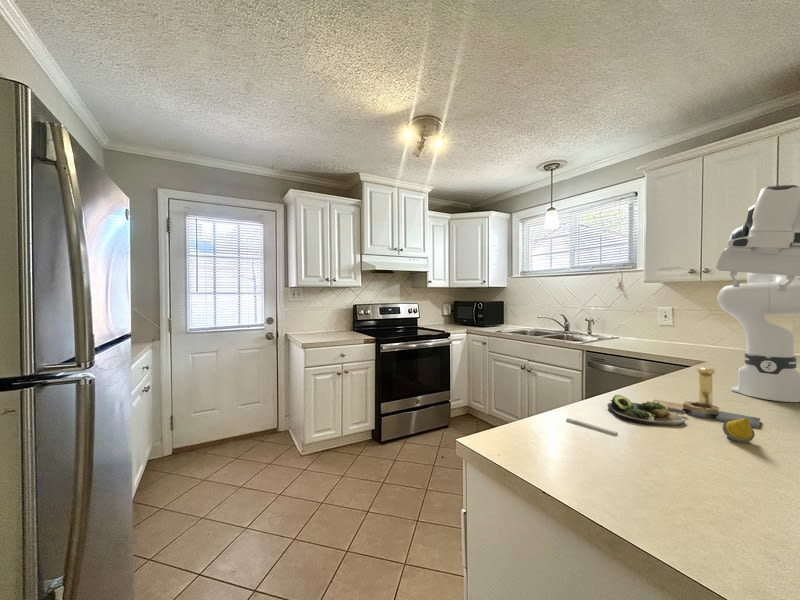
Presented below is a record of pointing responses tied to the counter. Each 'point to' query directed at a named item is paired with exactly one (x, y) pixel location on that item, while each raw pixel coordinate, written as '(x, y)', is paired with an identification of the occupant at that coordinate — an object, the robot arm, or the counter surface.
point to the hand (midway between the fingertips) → (757, 288)
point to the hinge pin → (705, 384)
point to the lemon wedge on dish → (739, 430)
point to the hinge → (707, 411)
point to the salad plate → (644, 412)
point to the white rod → (592, 426)
